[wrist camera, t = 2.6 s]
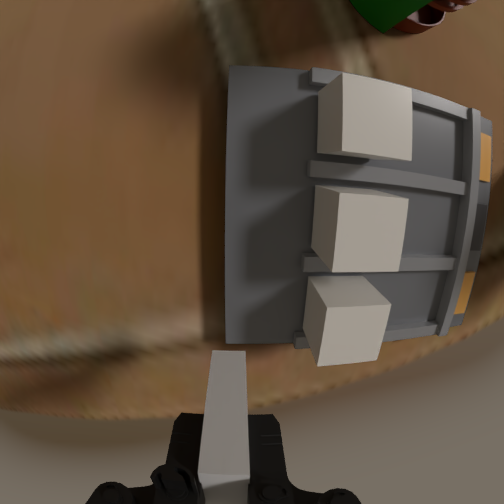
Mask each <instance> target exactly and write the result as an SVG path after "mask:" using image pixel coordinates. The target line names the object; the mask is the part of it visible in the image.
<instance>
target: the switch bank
mask: <svg viewBox="0 0 504 504" xmlns="http://www.w3.org/2000/svg"><path fill="white" fill-rule="evenodd" d="M341 73H342V72H341V71H335V70H329V69H322V68H315V67H312V68H311V69H310V71H308V70H299V69H289V68H277V67H262V66H229V84H228V110H227V142H226V188H225V328H226V344H267V343H293V344H294V347H295V349H303V348H310V346H309V343H308V341H307V338H306V335H305V333H304V330H303V321H304V312H305V304H306V295H307V285H308V276H364V277H365V278H366V279H367V280H368V281H369V282H370V283H371V284H372V285H373V286H374V287H375V288H376V289H377V290H378V291H379V292H380V293H381V294H382V295H383V296H384V297H385V298H386V299H387V300H388V301H389V302H390V303H391V309H390V313H389V317H388V321H387V325H386V329H385V333H384V336H383V340H382V342H386V341H394V340H402V339H409V338H416V337H422V336H429V335H435V334H437V335H438V336H444V335H447V333H448V330H449V327H452V326H458V325H461V324H462V321H463V318H464V315H465V312H466V309H467V306H468V302H469V299H470V295H471V292H472V288H473V284H474V280H475V277H476V272H477V268H478V264H479V259H480V255H481V250H482V244H483V239H484V233H485V227H486V221H487V213H488V205H489V196H490V185H491V171H492V121H490V120H487V119H485V118H483V117H481V116H480V111H478V110H476V109H473V108H467V107H464V106H462V105H459V104H457V103H454V102H452V101H449V100H446V99H443V98H441V97H438V96H435V95H432V94H429V93H426V92H423V91H420V90H416V89H413V88H411V89H412V161H401V160H375V159H367V158H359V157H351V156H342V155H332V154H322V153H317V136H318V91H320V90H321V89H322V88H323V87H325V86H326V85H327V84H328V83H330V82H331V81H332V80H333V79H335V78H336V77H337V76H339V75H340V74H341ZM343 73H346V72H343ZM348 74H352V73H348ZM354 75H357V74H354ZM359 76H362V75H359ZM363 77H366V76H363ZM368 78H371V77H368ZM372 79H375V78H372ZM377 80H380V79H377ZM381 81H384V80H381ZM385 82H388V81H385ZM389 83H392V82H389ZM393 84H395V83H393ZM397 85H399V84H397ZM400 86H403V85H400ZM404 87H406V86H404ZM408 88H410V87H408ZM315 185H323V186H337V187H350V188H362V189H372V190H377V191H381V192H385V193H389V194H392V195H396V196H400V197H404V198H407V199H409V201H408V211H407V219H406V227H405V234H404V241H403V248H402V254H401V260H400V265H399V271H398V272H331V271H330V269H329V268H328V267H327V266H326V265H325V263H324V262H323V261H322V260H321V259H320V257H319V256H318V255H317V254H316V253H315V251H314V250H313V249H312V248H311V243H312V230H313V216H314V201H315Z"/></svg>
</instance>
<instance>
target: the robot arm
mask: <svg viewBox="0 0 504 504" xmlns="http://www.w3.org/2000/svg"><path fill="white" fill-rule="evenodd" d="M150 478H151V479H152V482H153V484H152V485H150V486H145V487H134V488H127V487H126V486H124V485H123V484H121V483H117V482H106V483H103V484H100V485H99V486H98V487H97V488H96V489H95V491H94V492H93V494H92V495H91V497H90V498H89V499H88V501H87V502H86V504H361V502H360V501H359V499H358V498H357V497H356V495H354V494H353V493H352V492H351V491H348V490H346V489H339V488H336V489H332V490H329V491H327V492H325V493H315V492H308V491H304V490H300V489H298V488H296V487H295V486H294V485H293V484H291V482H290V481H289V479H288V476H287V472H286V465H285V458H284V452H283V445H282V437H281V430H280V424H279V422H278V421H277V419H276V418H275V417H274V415H273V414H266V415H248V412H247V383H246V352H245V351H220V350H212V357H211V364H210V372H209V380H208V387H207V395H206V404H205V412H204V414H192V413H181V414H180V415H179V416H178V418H177V419H176V420H175V421H174V425H173V430H172V435H171V440H170V444H169V449H168V454H167V460H166V464H164V465H161V466H159V467H158V468H156V469H155V470H154V471H153V472H152V474H151V476H150Z"/></svg>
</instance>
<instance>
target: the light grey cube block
mask: <svg viewBox="0 0 504 504" xmlns="http://www.w3.org/2000/svg"><path fill="white" fill-rule="evenodd" d="M317 153H322V154H332V155H342V156H351V157H359V158H367V159H375V160H401V161H412V89H411V88H408V87H404V86H400V85H397V84H393V83H389V82H385V81H381V80H377V79H372V78H368V77H363V76H359V75H354V74H348V73H343V72H342V73H341V74H340V75H339V76H337V77H336V78H335V79H333V80H332V81H331V82H330V83H328V84H327V85H326V86H325V87H323V88H322V89H321V90H320V91H318V136H317Z"/></svg>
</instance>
